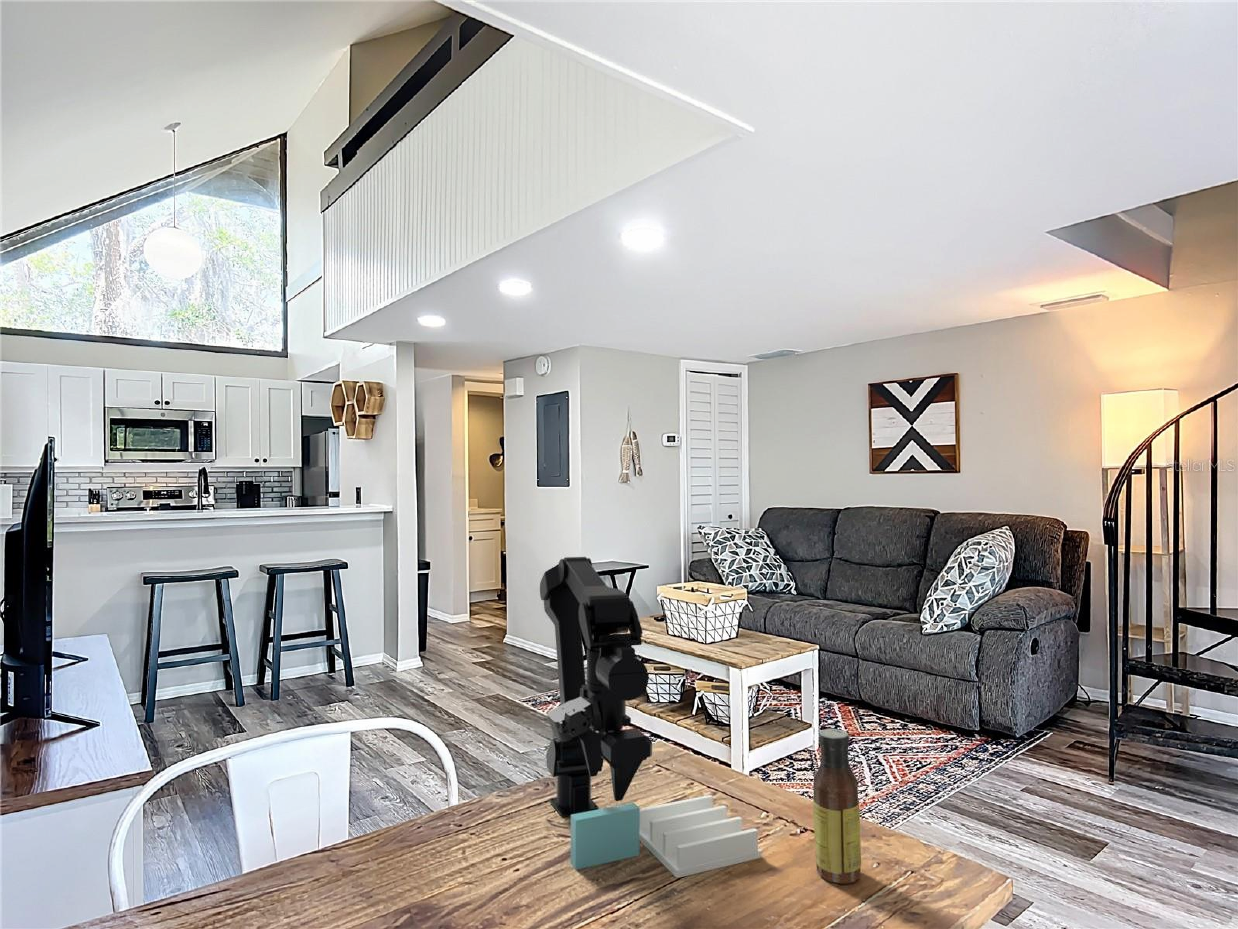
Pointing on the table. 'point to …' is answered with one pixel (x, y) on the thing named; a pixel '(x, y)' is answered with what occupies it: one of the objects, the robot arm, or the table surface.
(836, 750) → the sauce bottle
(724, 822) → the dish rack
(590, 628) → the robot arm
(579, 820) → the light blue block
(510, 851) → the table surface
